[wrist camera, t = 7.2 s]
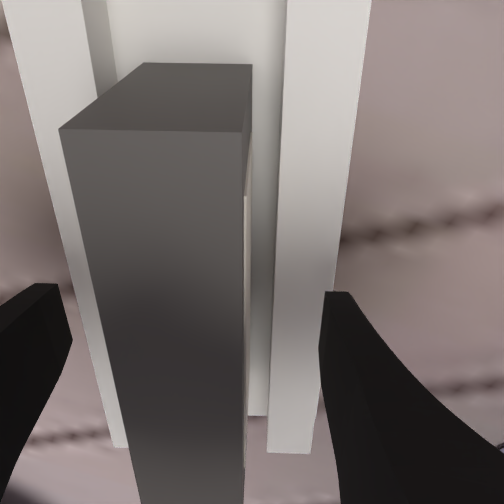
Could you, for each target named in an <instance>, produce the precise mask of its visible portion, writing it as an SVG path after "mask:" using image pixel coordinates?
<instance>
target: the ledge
mask: <svg viewBox="0 0 504 504" xmlns="http://www.w3.org/2000/svg"><path fill="white" fill-rule="evenodd" d="M1 1H2V5H3V9H4V13H5V16H6V20H7V24H8V28H9V32H10V36H11V40H12V44H13V48H14V52H15V56H16V60H17V64H18V68H19V72H20V76H21V80H22V84H23V88H24V92H25V96H26V100H27V104H28V108H29V112H30V116H31V120H32V124H33V128H34V132H35V136H36V140H37V144H38V148H39V152H40V156H41V160H42V164H43V168H44V172H45V176H46V180H47V184H48V188H49V192H50V196H51V200H52V204H53V208H54V212H55V216H56V220H57V224H58V228H59V232H60V236H61V240H62V243H63V247H64V251H65V255H66V259H67V263H68V267H69V271H70V275H71V279H72V283H73V287H74V291H75V295H76V299H77V303H78V307H79V311H80V315H81V319H82V323H83V327H84V331H85V335H86V339H87V343H88V347H89V351H90V355H91V359H92V363H93V367H94V371H95V375H96V379H97V383H98V387H99V391H100V395H101V399H102V403H103V407H104V411H105V415H106V419H107V423H108V427H109V431H110V435H111V439H112V443H113V447H116V448H129V447H128V442H127V438H126V433H125V429H124V424H123V420H122V415H121V411H120V406H119V402H118V397H117V393H116V388H115V384H114V379H113V375H112V370H111V366H110V361H109V357H108V352H107V348H106V343H105V339H104V334H103V330H102V325H101V321H100V316H99V312H98V307H97V303H96V298H95V294H94V289H93V285H92V280H91V276H90V271H89V266H88V262H87V257H86V253H85V248H84V244H83V239H82V235H81V230H80V226H79V221H78V217H77V212H76V208H75V203H74V199H73V194H72V190H71V185H70V181H69V176H68V172H67V167H66V163H65V158H64V154H63V149H62V145H61V140H60V136H59V131H58V129H59V128H60V127H61V126H62V125H64V124H65V123H66V122H68V121H69V120H70V119H71V118H73V117H74V116H75V115H77V114H78V113H79V112H80V111H82V110H83V109H84V108H86V107H87V106H88V105H89V104H91V103H92V102H93V101H95V100H96V99H97V98H98V97H100V96H101V95H102V94H104V93H105V92H106V91H107V90H109V89H110V88H111V87H113V86H114V85H115V84H116V83H118V82H119V81H120V80H122V79H123V78H124V77H125V76H127V75H128V74H129V73H131V72H132V71H133V70H134V69H136V68H137V67H138V66H140V65H141V64H142V63H143V62H152V63H212V64H253V70H252V132H253V133H252V224H251V314H250V377H249V399H248V415H249V416H267V453H295V454H310V452H311V444H312V437H313V429H314V421H315V418H316V414H317V406H318V399H319V391H320V384H321V380H320V368H319V353H318V344H319V336H320V328H321V320H322V311H323V303H324V295H325V291H333V286H334V279H335V271H336V264H337V256H338V249H339V241H340V234H341V226H342V219H343V211H344V203H345V196H346V188H347V181H348V173H349V166H350V158H351V151H352V143H353V136H354V128H355V121H356V113H357V106H358V98H359V91H360V83H361V76H362V68H363V61H364V53H365V46H366V38H367V31H368V23H369V16H370V8H371V1H372V0H1Z"/></svg>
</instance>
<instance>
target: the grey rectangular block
mask: <svg viewBox="0 0 504 504" xmlns="http://www.w3.org/2000/svg"><path fill="white" fill-rule="evenodd" d="M252 70H253V64H212V63H152V62H143V63H142V64H141V65H140V66H138V67H137V68H136V69H134V70H133V71H132V72H131V73H129V74H128V75H127V76H125V77H124V78H123V79H122V80H120V81H119V82H118V83H116V84H115V85H114V86H113V87H111V88H110V89H109V90H107V91H106V92H105V93H104V94H102V95H101V96H100V97H98V98H97V99H96V100H95V101H93V102H92V103H91V104H89V105H88V106H87V107H86V108H84V109H83V110H82V111H80V112H79V113H78V114H77V115H75V116H74V117H73V118H71V119H70V120H69V121H68V122H66V123H65V124H64V125H62V126H61V127H60V128H59V129H58V131H59V136H60V140H61V145H62V149H63V154H64V158H65V163H66V167H67V172H68V176H69V181H70V185H71V190H72V194H73V199H74V203H75V208H76V212H77V217H78V221H79V226H80V230H81V235H82V239H83V244H84V248H85V253H86V257H87V262H88V266H89V271H90V276H91V280H92V285H93V289H94V294H95V298H96V303H97V307H98V312H99V316H100V321H101V325H102V330H103V334H104V339H105V343H106V348H107V352H108V357H109V361H110V366H111V370H112V375H113V379H114V384H115V388H116V393H117V397H118V402H119V406H120V411H121V415H122V420H123V424H124V429H125V433H126V438H127V442H128V447H129V451H130V456H131V460H132V465H133V469H134V474H135V478H136V483H137V487H138V492H139V496H140V501H141V504H243V500H244V479H245V466H246V444H247V421H248V399H249V377H250V314H251V224H252V133H253V132H252Z"/></svg>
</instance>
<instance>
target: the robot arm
mask: <svg viewBox="0 0 504 504" xmlns="http://www.w3.org/2000/svg"><path fill="white" fill-rule="evenodd" d="M72 341H73V339H72V335H71V332H70V328H69V324H68V321H67V317H66V313H65V310H64V306H63V302H62V299H61V295H60V291H59V288H58V284H48V283H35V284H33V285H31V286H30V287H28V288H26V289H25V290H23V291H22V292H20V293H19V294H17V295H16V296H14V297H13V298H11V299H10V300H8V301H7V302H5V303H4V304H3V305H1V306H0V502H1V499H2V497H3V494H4V492H5V489H6V487H7V484H8V482H9V479H10V476H11V474H12V471H13V469H14V466H15V464H16V462H17V460H18V458H19V456H20V453H21V451H22V449H23V447H24V445H25V443H26V441H27V439H28V437H29V435H30V434H31V432H32V430H33V428H34V426H35V424H36V422H37V420H38V418H39V416H40V414H41V412H42V410H43V409H44V407H45V405H46V403H47V401H48V399H49V397H50V395H51V393H52V391H53V389H54V387H55V385H56V383H57V381H58V379H59V377H60V375H61V373H62V370H63V367H64V365H65V362H66V359H67V356H68V353H69V350H70V347H71V344H72ZM318 353H319V368H320V380H321V387H322V392H323V397H324V402H325V408H326V413H327V418H328V423H329V428H330V433H331V438H332V443H333V449H334V454H335V459H336V465H337V472H338V479H339V489H340V499H341V504H504V448H502V449H501V450H499V449H497V448H496V447H494V446H493V445H492V444H490V443H489V442H488V441H486V440H485V439H484V438H483V437H481V436H480V435H479V434H477V433H476V432H475V431H474V430H473V429H471V428H470V427H469V426H468V425H466V424H465V423H464V422H463V421H462V420H460V419H459V418H458V417H457V416H455V415H454V414H453V413H452V412H451V411H450V410H448V409H447V408H446V407H445V406H444V405H443V404H442V403H441V402H439V401H438V400H437V399H436V398H435V397H434V396H433V395H432V394H431V393H430V392H429V391H428V390H427V389H426V388H425V387H424V386H423V385H422V384H421V383H420V382H419V381H418V380H417V379H416V378H415V377H414V376H413V375H412V373H411V372H410V371H409V370H408V369H407V368H406V367H405V366H404V365H403V363H402V362H401V361H400V360H399V359H398V358H397V356H396V355H395V354H394V353H393V352H392V351H391V349H390V348H389V347H388V346H387V344H386V343H385V342H384V340H383V339H382V338H381V337H380V335H379V334H378V333H377V332H376V330H375V329H374V328H373V326H372V325H371V323H370V322H369V321H368V319H367V318H366V316H365V315H364V314H363V312H362V311H361V309H360V308H359V306H358V305H357V303H356V302H355V300H354V299H353V297H352V296H351V295H350V293H349V292H336V291H325V295H324V303H323V311H322V320H321V328H320V336H319V344H318Z"/></svg>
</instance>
